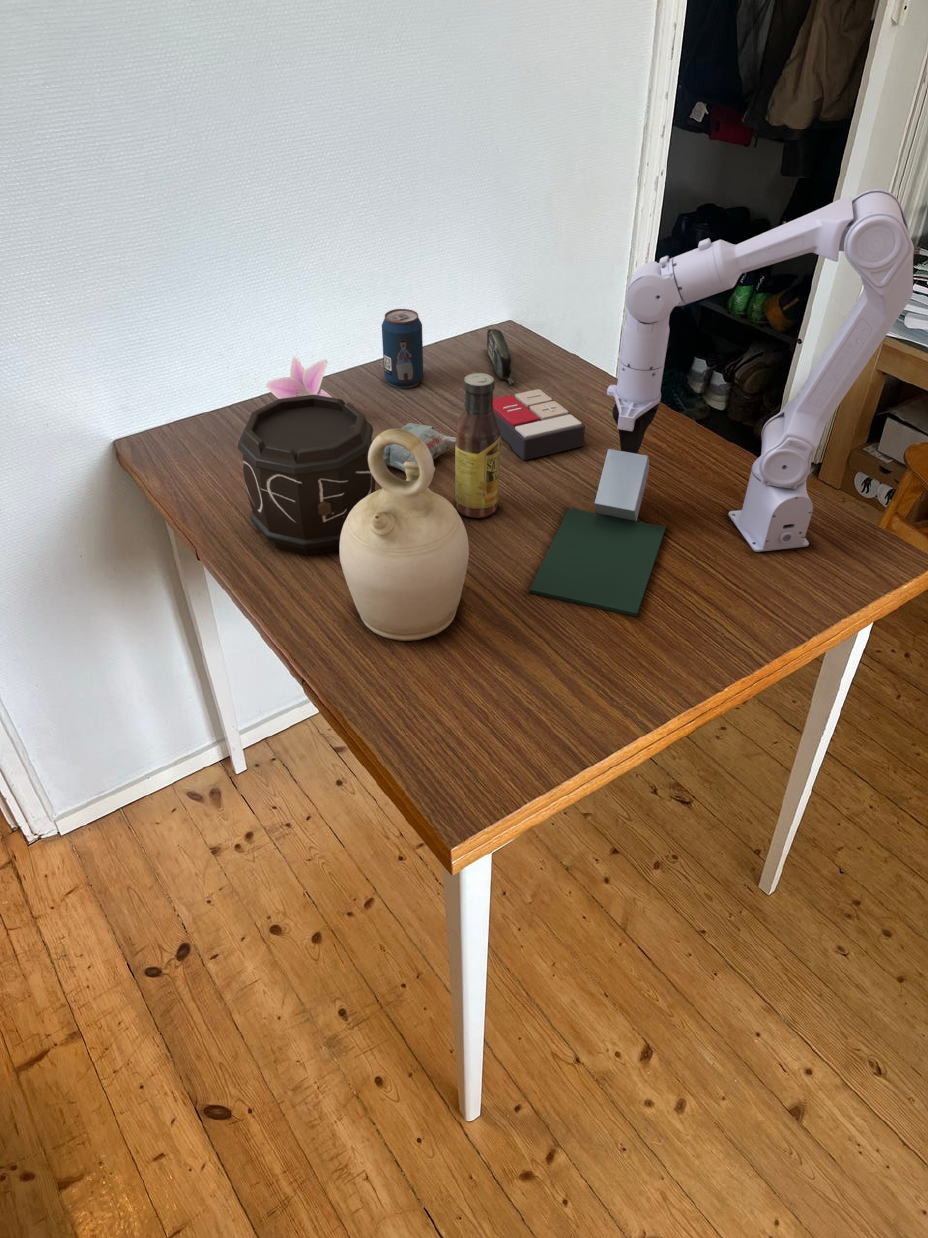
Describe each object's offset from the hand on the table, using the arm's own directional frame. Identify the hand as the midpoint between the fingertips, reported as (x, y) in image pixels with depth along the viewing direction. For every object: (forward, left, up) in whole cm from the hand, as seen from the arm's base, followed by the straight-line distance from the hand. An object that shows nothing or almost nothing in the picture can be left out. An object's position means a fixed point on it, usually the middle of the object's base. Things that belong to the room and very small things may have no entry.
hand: (629, 452), depth 129 cm
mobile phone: (+47, +8, -9) cm, 49 cm away
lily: (+34, +44, -9) cm, 56 cm away
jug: (-18, +34, -9) cm, 39 cm away
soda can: (+45, +26, -9) cm, 53 cm away
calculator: (+23, +8, -9) cm, 26 cm away
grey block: (-2, +1, -4) cm, 5 cm away
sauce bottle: (+3, +21, -9) cm, 23 cm away
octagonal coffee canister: (+3, +44, -9) cm, 45 cm away
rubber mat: (-12, +7, -9) cm, 17 cm away
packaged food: (+17, +28, -9) cm, 34 cm away
